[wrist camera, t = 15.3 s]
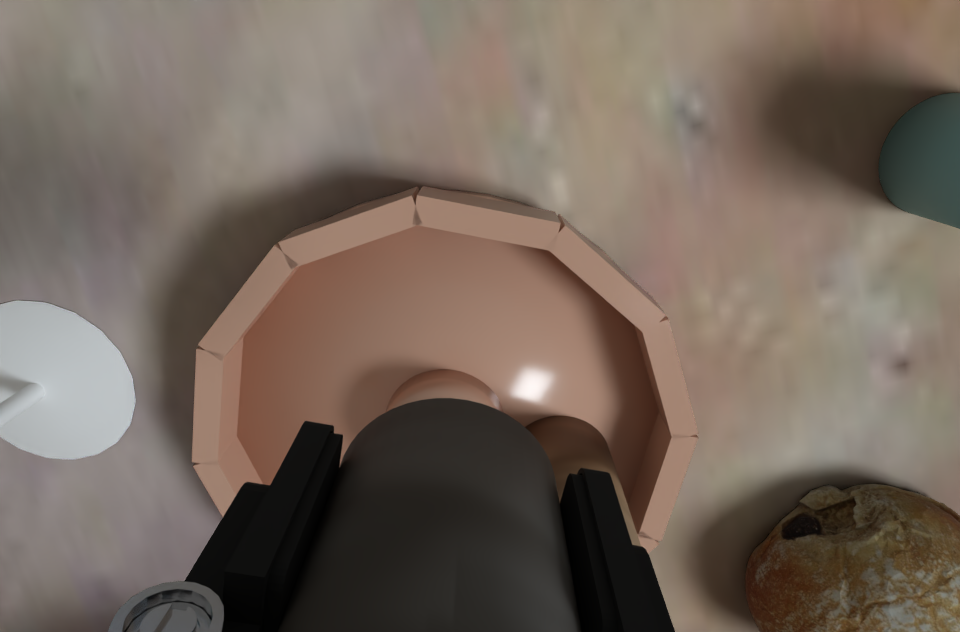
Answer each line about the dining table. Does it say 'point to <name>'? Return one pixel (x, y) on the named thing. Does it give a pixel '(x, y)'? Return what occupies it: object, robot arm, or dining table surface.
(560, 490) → the bead
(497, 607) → the bead
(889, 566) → the bread roll
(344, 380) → the groove dish
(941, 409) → the dining table surface
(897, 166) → the teal capsule
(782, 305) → the dining table surface
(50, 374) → the wineglass
